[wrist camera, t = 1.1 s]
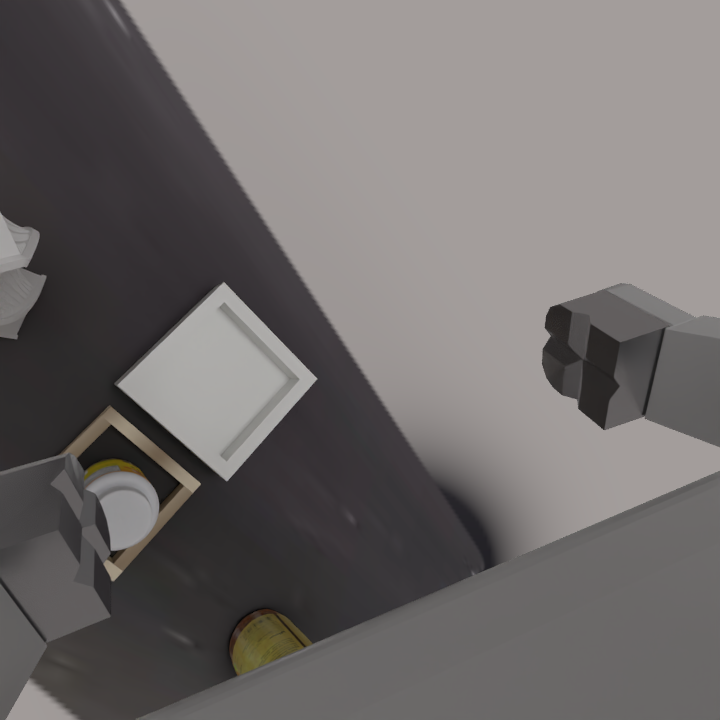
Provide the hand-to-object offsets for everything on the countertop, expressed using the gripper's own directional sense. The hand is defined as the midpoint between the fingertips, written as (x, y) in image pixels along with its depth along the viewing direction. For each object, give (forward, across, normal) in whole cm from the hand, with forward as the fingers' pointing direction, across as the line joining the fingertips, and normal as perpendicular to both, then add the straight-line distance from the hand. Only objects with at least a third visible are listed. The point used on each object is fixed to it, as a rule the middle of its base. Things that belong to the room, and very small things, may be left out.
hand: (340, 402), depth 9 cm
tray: (+37, +2, +23) cm, 43 cm away
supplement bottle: (+32, +13, +27) cm, 44 cm away
